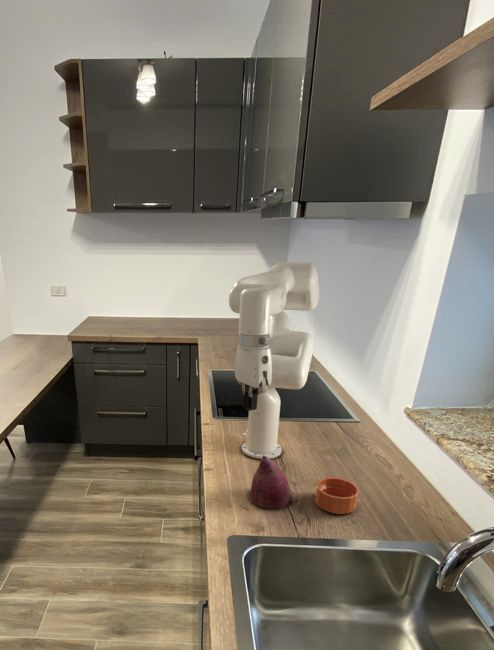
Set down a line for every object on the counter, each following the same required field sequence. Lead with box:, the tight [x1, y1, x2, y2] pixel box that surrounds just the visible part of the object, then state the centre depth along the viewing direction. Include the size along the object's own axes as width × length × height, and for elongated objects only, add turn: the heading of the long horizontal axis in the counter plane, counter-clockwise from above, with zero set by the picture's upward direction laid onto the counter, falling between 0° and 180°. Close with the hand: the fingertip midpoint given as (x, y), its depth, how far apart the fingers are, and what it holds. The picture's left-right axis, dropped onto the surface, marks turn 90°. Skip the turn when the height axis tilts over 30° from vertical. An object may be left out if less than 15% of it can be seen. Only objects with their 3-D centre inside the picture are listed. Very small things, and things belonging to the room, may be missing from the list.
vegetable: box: [250, 455, 291, 510], centre depth 115 cm, size 10×10×15 cm
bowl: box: [314, 476, 360, 515], centre depth 114 cm, size 10×10×5 cm
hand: (249, 408), depth 117 cm, fingers closed
